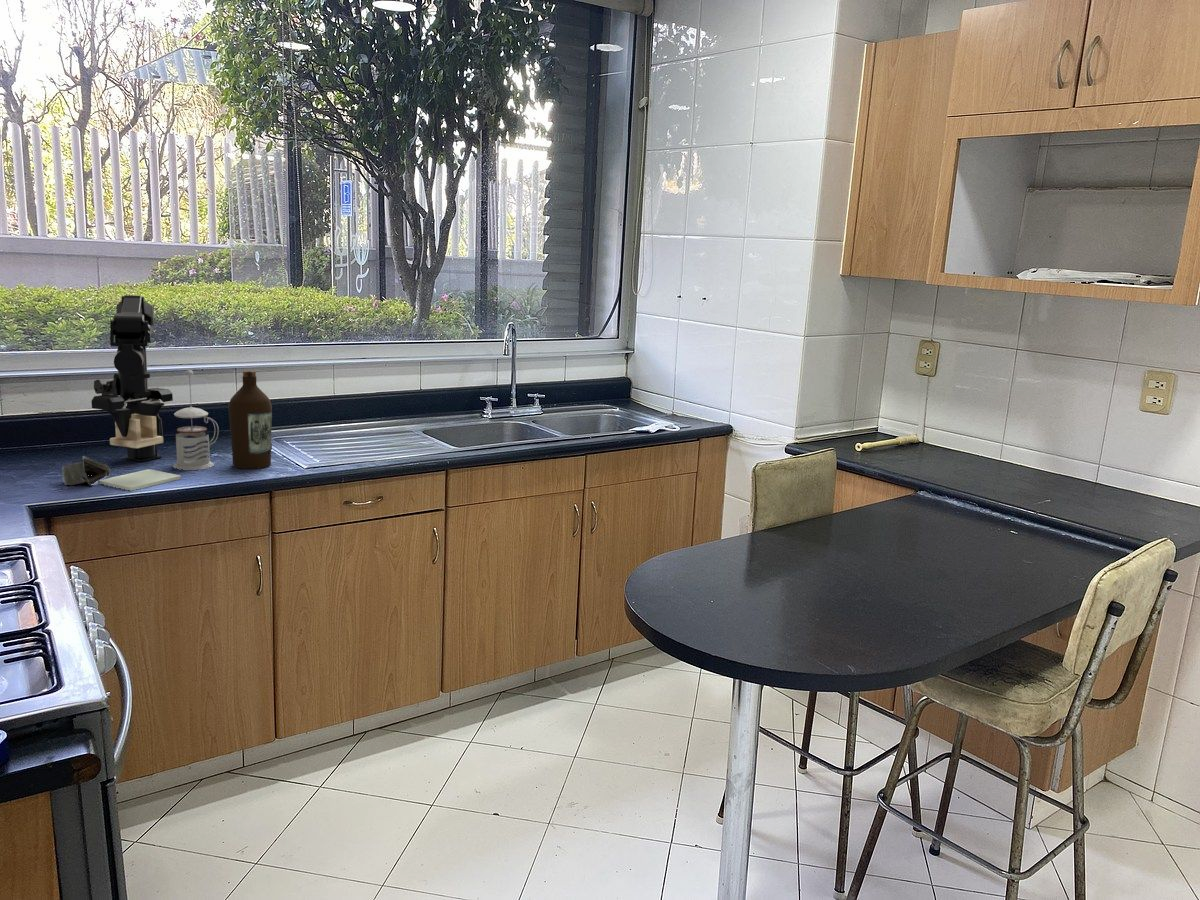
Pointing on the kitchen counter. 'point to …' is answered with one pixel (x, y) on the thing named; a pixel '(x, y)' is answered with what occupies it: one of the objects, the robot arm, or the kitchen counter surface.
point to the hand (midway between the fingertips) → (135, 434)
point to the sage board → (139, 479)
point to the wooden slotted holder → (138, 432)
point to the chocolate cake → (84, 472)
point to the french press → (193, 439)
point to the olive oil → (250, 425)
